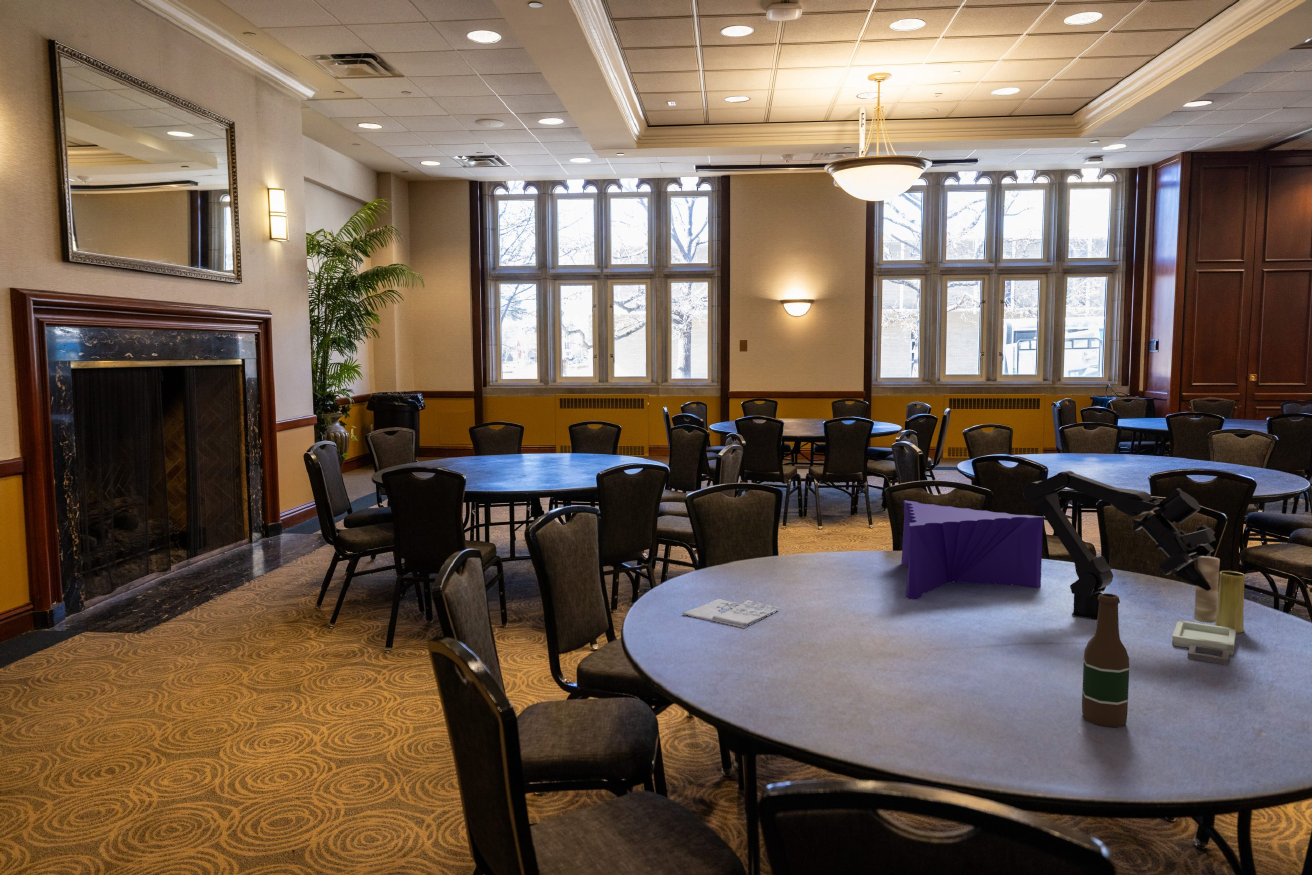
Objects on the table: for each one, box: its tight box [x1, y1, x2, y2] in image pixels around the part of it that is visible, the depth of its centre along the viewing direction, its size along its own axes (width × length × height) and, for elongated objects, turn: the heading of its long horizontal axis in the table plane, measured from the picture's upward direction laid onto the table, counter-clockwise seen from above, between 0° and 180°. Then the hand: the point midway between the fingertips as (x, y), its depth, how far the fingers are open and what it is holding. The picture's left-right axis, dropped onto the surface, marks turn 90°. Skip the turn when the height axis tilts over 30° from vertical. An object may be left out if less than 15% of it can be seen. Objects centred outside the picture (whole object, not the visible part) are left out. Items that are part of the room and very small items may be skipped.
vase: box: [1215, 570, 1246, 634], centre depth 212 cm, size 6×6×14 cm
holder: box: [1187, 644, 1230, 666], centre depth 194 cm, size 8×8×1 cm
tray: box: [1171, 619, 1237, 656], centre depth 204 cm, size 12×15×2 cm
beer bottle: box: [1081, 592, 1130, 728], centre depth 160 cm, size 8×8×24 cm
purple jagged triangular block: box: [900, 500, 1044, 600], centre depth 255 cm, size 40×45×21 cm
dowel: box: [1193, 556, 1221, 624], centre depth 203 cm, size 4×4×15 cm
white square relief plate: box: [682, 598, 781, 629], centre depth 230 cm, size 19×20×2 cm
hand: (1213, 587), depth 202 cm, fingers closed on dowel, 4 cm apart
